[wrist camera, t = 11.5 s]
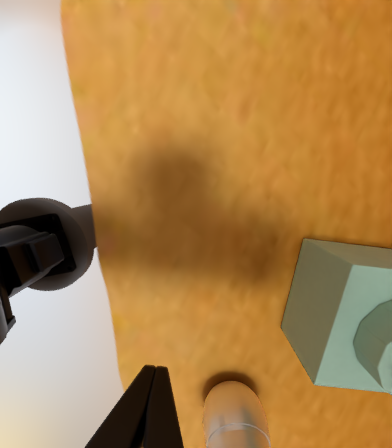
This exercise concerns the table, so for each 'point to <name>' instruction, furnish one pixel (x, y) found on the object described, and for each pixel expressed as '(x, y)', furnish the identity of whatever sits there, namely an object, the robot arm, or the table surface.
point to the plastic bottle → (234, 418)
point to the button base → (342, 315)
